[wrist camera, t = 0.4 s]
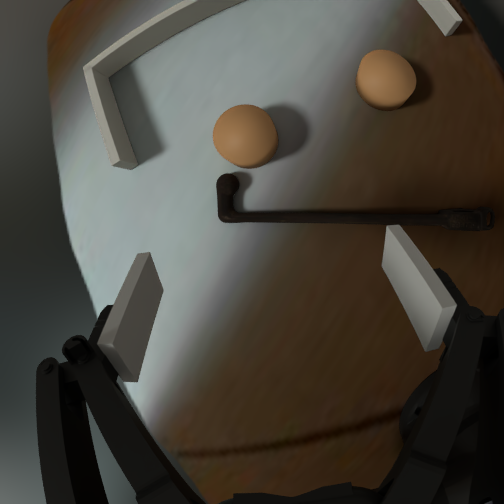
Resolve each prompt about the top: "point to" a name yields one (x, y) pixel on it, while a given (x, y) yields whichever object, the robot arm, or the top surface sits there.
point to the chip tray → (156, 31)
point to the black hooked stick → (445, 218)
